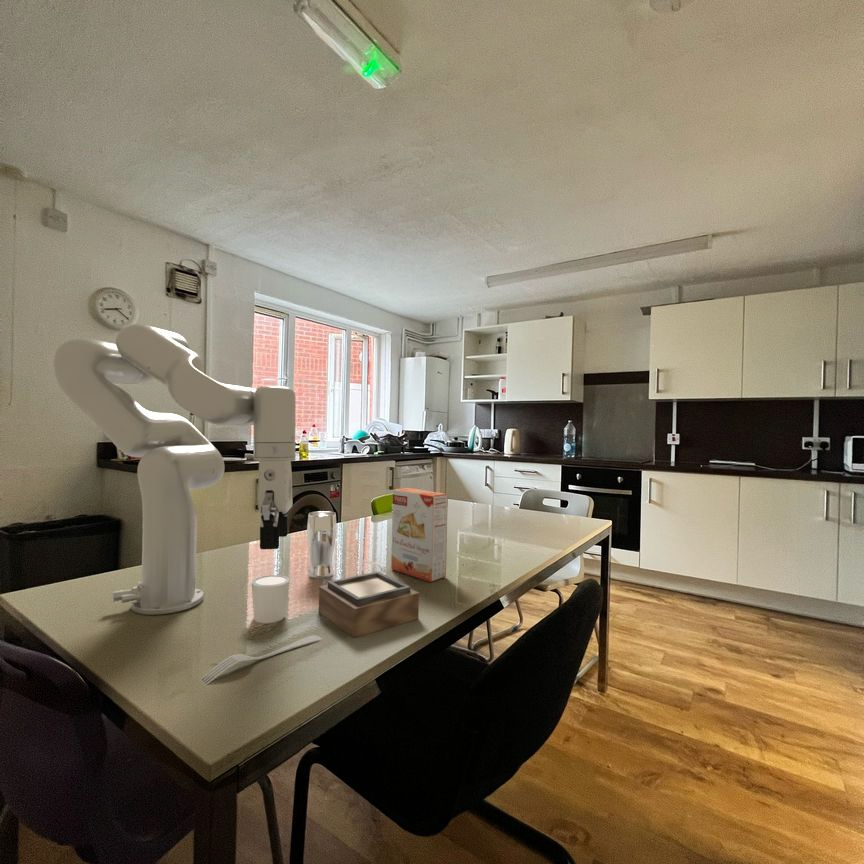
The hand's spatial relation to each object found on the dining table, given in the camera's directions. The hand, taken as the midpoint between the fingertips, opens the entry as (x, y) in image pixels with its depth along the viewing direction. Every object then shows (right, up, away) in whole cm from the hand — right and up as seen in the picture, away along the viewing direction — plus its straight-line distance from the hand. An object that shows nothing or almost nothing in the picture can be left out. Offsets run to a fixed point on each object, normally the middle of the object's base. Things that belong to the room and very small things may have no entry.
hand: (274, 542), depth 88 cm
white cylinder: (-1, -14, 0) cm, 14 cm away
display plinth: (+17, -15, +2) cm, 23 cm away
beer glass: (+3, -14, +26) cm, 30 cm away
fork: (+4, -15, -15) cm, 22 cm away
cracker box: (+26, -15, +29) cm, 42 cm away
